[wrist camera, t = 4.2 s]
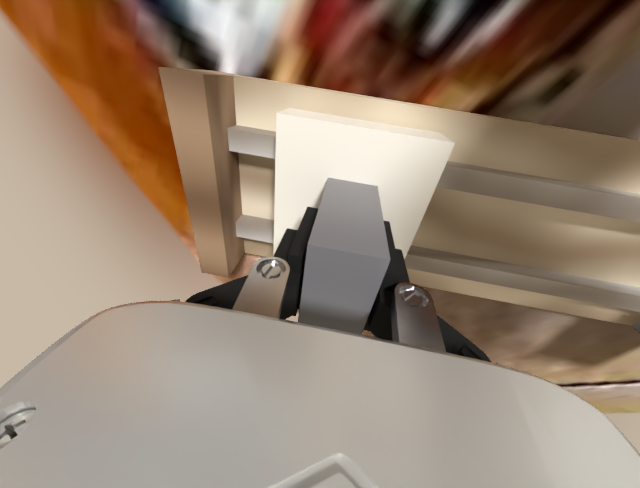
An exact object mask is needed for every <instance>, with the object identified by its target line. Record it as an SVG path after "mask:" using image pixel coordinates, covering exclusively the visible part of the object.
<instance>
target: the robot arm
mask: <svg viewBox="0 0 640 488" xmlns="http://www.w3.org/2000/svg"><path fill="white" fill-rule="evenodd" d="M317 212H318V208H313V207H307V209H306V211H305V214H304V216H303V218H302V221H301V223H300V226H299V228H298V230H294V229H289V228H287V229H286V231H285V233H284V235H283V237H282V239H281V241H280V244H279V246H278V248H277V250H276V252H275V254H274V256H273V257H264V258H262V259H259V260H258V261H256V262H255V263H254V265H253V266H252V269H251V271H250V273H249V275H247V276H244V277H242V278H239V279H236V280H233V281H230V282H227V283H225V284H222V285H219V286H216V287H213V288H211V289H208V290H205V291H202V292H199V293H197V294H195V295H193V296H191V297H190V298H189V299H187V300H186V302H180V300H172V301H146V302H136V303H129V304H124V305H119V306H116V307H111V308H109V309H106V310H104V311H101V312H99V313H97V314H96V315H93V316H91V317H90V318H88V319H87V320H85V321H84V322H82V323H81V324H79V325H78V326H76V327H75V328H73V329H72V330H71V331H69V332H68V333H67V334H65V335H64V336H63V337H61V338H60V339H59V340H57V341H56V342H55V343H54V344H52V345H51V346H50V347H48V348H47V349H46V350H45V351H44V352H42V353H41V354H40V355H39V356H37V357H36V358H35V359H34V360H33V361H31V362H30V363H29V364H28V365H27V366H26V367H24V368H23V369H22V370H21V371H20V372H19V373H17V374H16V375H15V376H14V377H13V378H11V379H10V380H9V381H8V382H7V383H6V384H4V385H3V386H2V387H1V388H0V488H640V453H639V452H638V451H637V450H636V448H635V447H634V446H633V445H632V444H631V443H630V441H629V440H628V439H627V438H626V437H625V436H624V435H623V433H622V432H621V431H620V430H619V429H618V428H617V427H616V426H615V425H614V424H613V423H612V422H611V421H610V420H609V419H608V418H607V417H606V416H605V415H604V414H603V413H602V412H600V411H599V410H598V409H597V408H596V407H594V406H593V405H591V404H590V403H588V402H587V401H585V400H584V399H582V398H580V397H579V396H577V395H575V394H574V393H572V392H570V391H568V390H566V389H564V388H562V387H560V386H558V385H556V384H554V383H552V382H550V381H548V380H545V379H543V378H540V377H538V376H535V375H533V374H530V373H527V372H524V371H521V370H518V369H514V368H511V367H507V366H503V365H499V364H498V363H496V364H495V363H491V361H490V360H489V358H488V357H487V356H486V354H485V353H484V352H483V351H481V350H480V349H479V348H478V347H477V346H475V345H474V344H473V343H472V342H470V341H469V340H468V339H467V338H465V337H464V336H463V335H462V334H460V333H459V332H458V331H457V330H455V329H454V328H453V327H451V326H450V325H449V324H448V323H446V322H445V321H444V320H443V319H441V318H440V317H439V316H438V315H436V311H435V307H434V304H433V300H432V298H431V296H430V294H429V293H428V292H427V291H426V290H425V289H423V288H422V287H420V286H418V285H416V284H413V283H410V280H409V276H408V272H407V268H406V265H405V261H404V257H403V253H402V250H400V249H395V245H394V240H393V236H392V231H391V226H390V222H389V221H384V226H385V231H386V237H387V243H388V248H389V254H390V262H389V265H388V268H387V270H386V273H385V275H384V278H383V280H382V283H381V286H380V288H379V291H378V293H377V296H376V298H375V301H374V303H373V306H372V309H371V311H370V314H369V316H368V319H367V321H366V324H365V327H364V329H363V330H368V331H371V332H372V333H373V334H374V336H373V337H369V336H364V335H359V334H354V333H349V332H344V331H339V330H334V329H329V328H324V327H319V326H314V325H309V324H304V323H299V322H293V321H288V320H286V318H288V317H290V316H296V313H297V309H300V301H301V293H302V285H303V277H304V269H305V261H306V253H307V245H308V241H309V238H310V235H311V232H312V228H313V225H314V222H315V219H316V216H317Z"/></svg>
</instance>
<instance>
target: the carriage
mask: <svg viewBox="0 0 640 488" xmlns="http://www.w3.org/2000/svg"><path fill="white" fill-rule="evenodd" d="M454 145H455V142H453V141H452V140H450V139H448V138H447V137H445V136H444V135H442V134H441V133H439V132H433V131H427V130H421V129H415V128H409V127H403V126H397V125H390V124H384V123H378V122H372V121H366V120H360V119H354V118H348V117H342V116H336V115H330V114H324V113H318V112H312V111H306V110H300V109H294V108H288V109H285V110H283V111H280V112H278V113H276V157H275V203H274V249H273V256H274V254H275V252H276V250H277V248H278V246H279V244H280V241H281V239H282V237H283V235H284V233H285V231H286V229H287V228H289V229H294V230H298V228H299V226H300V223H301V221H302V218H303V216H304V214H305V211H306V209H307V207H313V208H318V212H317V216H316V219H315V222H314V225H313V228H312V232H311V235H310V238H309V241H308V245H307V253H306V261H305V269H304V277H303V285H302V293H301V301H300V309H299V318H298V322H299V323H304V324H309V325H314V326H319V327H324V328H329V329H334V330H339V331H344V332H349V333H354V334H359V335H361V334H362V332H363V329H364V327H365V324H366V321H367V319H368V316H369V314H370V311H371V309H372V306H373V303H374V301H375V298H376V296H377V293H378V291H379V288H380V286H381V283H382V280H383V278H384V275H385V273H386V270H387V268H388V265H389V262H390V254H389V248H388V243H387V237H386V231H385V226H384V221H389V222H390V226H391V231H392V236H393V240H394V245H395V249H400V250H402V253H403V257H404V260H405V257H406V255H407V253H408V251H409V248H410V246H411V244H412V241H413V239H414V237H415V234H416V232H417V230H418V228H419V225H420V223H421V221H422V218H423V216H424V214H425V211H426V209H427V207H428V204H429V202H430V200H431V198H432V195H433V193H434V191H435V188H436V186H437V184H438V181H439V179H440V177H441V175H442V172H443V170H444V168H445V165H446V163H447V161H448V158H449V156H450V154H451V152H452V149H453V147H454Z"/></svg>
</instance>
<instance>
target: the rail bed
mask: <svg viewBox="0 0 640 488" xmlns="http://www.w3.org/2000/svg"><path fill="white" fill-rule="evenodd" d="M158 68H159V73H160V77H161V82H162V87H163V92H164V96H165V101H166V106H167V110H168V115H169V120H170V125H171V129H172V134H173V139H174V144H175V148H176V153H177V158H178V162H179V167H180V172H181V177H182V181H183V186H184V191H185V196H186V200H187V205H188V210H189V215H190V219H191V224H192V229H193V233H194V238H195V243H196V248H197V252H198V257H199V262H200V267H201V271H202V272H203V273H208V274H213V275H218V276H223V277H228V278H229V276H230V275H231V273H232V272H233V270H234V269H235V267H236V266H237V264H238V262H239V261H240V259H241V258H242V256H243V255H244V253H248V254H254V255H259V256H264V257H273V249H274V203H275V157H276V113H278V112H280V111H283V110H285V109H288V108H294V109H300V110H306V111H312V112H318V113H324V114H330V115H336V116H342V117H348V118H354V119H360V120H366V121H372V122H378V123H384V124H390V125H397V126H403V127H409V128H415V129H421V130H427V131H433V132H439V133H441V134H442V135H444V136H445V137H447V138H448V139H450V140H452V141H453V142H455V145H454V147H453V149H452V152H451V154H450V156H449V158H448V161H447V163H446V165H445V168H444V170H443V172H442V175H441V177H440V179H439V181H438V184H437V186H436V188H435V191H434V193H433V195H432V198H431V200H430V202H429V204H428V207H427V209H426V211H425V214H424V216H423V218H422V221H421V223H420V225H419V228H418V230H417V232H416V234H415V237H414V239H413V241H412V244H411V246H410V248H409V251H408V253H407V255H406V257H405V260H404V261H405V265H406V268H407V272H408V276H409V280H410V283H413V284H416V285H418V286H423V287H428V288H433V289H439V290H444V291H449V292H454V293H460V294H465V295H470V296H476V297H481V298H486V299H492V300H497V301H502V302H507V303H513V304H518V305H523V306H529V307H534V308H539V309H544V310H550V311H555V312H560V313H566V314H571V315H576V316H581V317H587V318H592V319H597V320H603V321H608V322H613V323H618V324H624V325H629V326H633V327H634V328H635V329H636V330H637V331H638V332H640V140H635V139H628V138H622V137H616V136H610V135H604V134H598V133H592V132H585V131H579V130H573V129H567V128H561V127H555V126H549V125H542V124H536V123H530V122H524V121H518V120H512V119H506V118H499V117H493V116H487V115H481V114H475V113H469V112H463V111H456V110H450V109H444V108H438V107H432V106H426V105H420V104H413V103H407V102H401V101H395V100H389V99H383V98H377V97H370V96H364V95H358V94H352V93H346V92H340V91H334V90H327V89H321V88H315V87H309V86H303V85H297V84H291V83H284V82H278V81H272V80H266V79H260V78H254V77H248V76H241V75H235V74H229V73H223V72H217V71H210V70H195V69H180V68H165V67H158Z"/></svg>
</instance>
